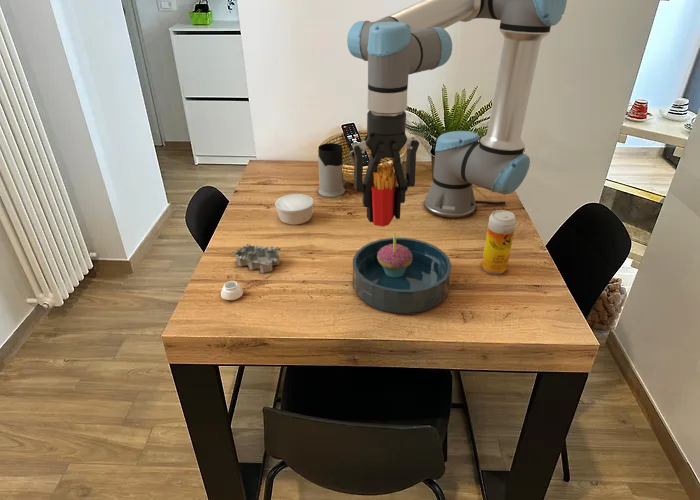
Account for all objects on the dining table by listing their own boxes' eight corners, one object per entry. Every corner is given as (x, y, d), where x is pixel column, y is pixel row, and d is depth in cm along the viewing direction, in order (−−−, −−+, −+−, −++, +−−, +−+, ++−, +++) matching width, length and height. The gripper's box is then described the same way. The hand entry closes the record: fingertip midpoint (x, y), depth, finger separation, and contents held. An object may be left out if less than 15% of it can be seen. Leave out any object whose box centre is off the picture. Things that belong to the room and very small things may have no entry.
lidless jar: (217, 293, 116) (226, 304, 112) (216, 283, 114) (225, 293, 111) (237, 286, 118) (247, 296, 115) (236, 275, 117) (245, 285, 113)
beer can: (492, 277, 121) (502, 223, 113) (476, 265, 126) (484, 212, 118) (511, 271, 123) (522, 217, 115) (494, 259, 128) (504, 207, 120)
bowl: (427, 254, 130) (429, 232, 127) (464, 306, 111) (468, 282, 108) (343, 266, 125) (342, 244, 122) (367, 322, 107) (367, 298, 103)
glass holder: (317, 185, 167) (316, 142, 159) (360, 184, 168) (360, 141, 160) (318, 197, 159) (316, 152, 151) (362, 195, 160) (363, 151, 152)
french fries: (386, 229, 104) (387, 176, 98) (368, 226, 105) (368, 173, 99) (397, 211, 111) (399, 160, 104) (380, 208, 112) (381, 158, 106)
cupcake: (409, 284, 117) (412, 240, 111) (373, 280, 119) (375, 236, 113) (412, 264, 125) (416, 222, 118) (379, 260, 126) (380, 219, 120)
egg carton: (283, 261, 128) (282, 248, 125) (266, 276, 122) (264, 262, 120) (250, 251, 132) (249, 237, 130) (232, 264, 126) (230, 251, 124)
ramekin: (269, 222, 145) (267, 206, 142) (287, 206, 154) (286, 191, 151) (303, 229, 141) (302, 213, 139) (320, 212, 150) (319, 197, 147)
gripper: (425, 102, 100) (417, 205, 113) (336, 108, 97) (338, 214, 109) (438, 113, 94) (429, 220, 107) (344, 120, 91) (345, 230, 103)
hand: (383, 217), depth 108 cm, fingers closed on french fries, 5 cm apart
